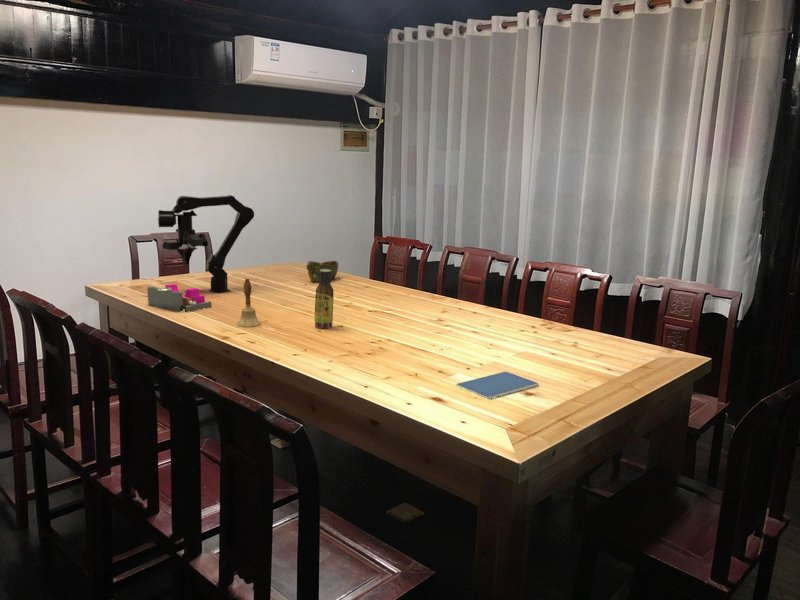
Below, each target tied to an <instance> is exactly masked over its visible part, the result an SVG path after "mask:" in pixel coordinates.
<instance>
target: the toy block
mask: <svg viewBox="0 0 800 600" xmlns="http://www.w3.org/2000/svg"><path fill="white" fill-rule="evenodd" d="M165 287H168V288H172V290H171V291H176V292H180V291H179V288H178V284H177V283H171V284H165ZM182 296H184V297H188V298H191V301H192V298H194V302H196V304H198V303H204V302H206V299H205V297H206V296H205V295H203V294H200V288H196V287H192V288H186V290H185V294H182ZM191 305H192V304H191Z"/></svg>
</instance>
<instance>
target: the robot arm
mask: <svg viewBox="0 0 800 600" xmlns="http://www.w3.org/2000/svg"><path fill="white" fill-rule="evenodd" d="M175 203H176V205H175V206H174V207H173V208H172V209H171V210H162V209H159V210H158V215H157V224H158V228H174V226H175V225H177V228H176V229H175V232H176V233H177V237H178V238H177V239H176V240H174V241H172V240H169V241H167V240H166V241H163V243H162V250H163V249H164V250H171V251H173V250H176V251H177V253H178V255H179V256H180V257H181V259H182V261H183V263H184V264H185V265H186V266H187V265H189V263H190V260H191V257H192V254H193V252H195V250H197V249H198V247H208V246H209V241H208V240H207V238H206V237H207V236H206V234H205V233H199V234H196V230H195V229H193V217H196V216H197V217H198V215H197V213H195V211H194V210H195V209H198V208H199V209H200V208H202V207H216V206H217V207H218V206H230V207H231V208H232V209H233V210H234V211H235V212H237V213H236V215H235V220H234V222H233V225H232V226H231V228H230V230H229V231H228V233H227V235H226V236H225V238H224V239H223V241H222V243H221V245H220V246H219V248H218V250H217V251H216V253H214V254H213V253H212V252H211V253H210V254H209V257H208V258H207V259H206V261H205V262H206V264H205V266H206V270H207V271H208V273H209V274H211V277H210V282H209V283H210V289H208V292H211V293H212V292H213V293H216V292H217V294H220V293H225V292H230V291H231V289H230V288H228V284H229V283H228V273H227V271H226V270H225V269H224V268H223V267H224V266H225V263H226V258H227V256H228V254H229V253H230V251H231V250H232V248H233V246H234V244H235V243H236V241H237V239H238V238H239V236H240V234H241V232H242V231H243V229H244V228H246V227H247V225H249V223H250V222H252V220H253V219H254V217H255V211H254V210H253V209H252V208H251V207H248V206H246V205H244V204H242V203H241V202H240V201H239V200H238V199H237V198H236V197H235V196H233V195H231V194H228V195H220V196H207V197H206V196H204V197H203V196H202V197H197V196H188V195H180V196H179V197H177V199H176V202H175ZM185 265H184V266H185Z"/></svg>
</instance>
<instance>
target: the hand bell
mask: <svg viewBox="0 0 800 600" xmlns="http://www.w3.org/2000/svg"><path fill="white" fill-rule="evenodd" d="M243 294H244V297H245V307H244V308H242V309H241V315H240V319H239V320H238V321H237V323H236V324H237V325H238V326H237V325H236V326H237V327H240V326H241V327H242V328H252V327H253V328H254V326H255V327H259V326H260V324H261V325H262V323H261V321H260V320H259V319H258V317H257V313H256V309H255V308H254V307H252V305H251V304H252V303H251V294H252V283H251V282H250V279H249V278H245V280H244V283H243ZM258 325H259V326H258ZM241 327H240V328H241Z"/></svg>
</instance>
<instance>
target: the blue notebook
mask: <svg viewBox="0 0 800 600" xmlns="http://www.w3.org/2000/svg"><path fill="white" fill-rule="evenodd" d="M455 385H457V386H459V387H461V388H464V389H466V390H468V391H470V392H473V393H475V394H477V395H479V396H481V397H484V398H487V399H490V398H494V397H498V396H501V395H504V396H507V395H506V394H508V395H510V394H509V393H511V394H514V392H515V393H517V391H518V392H522V391H524V390H525V391H526V390H528V388H529V389H533V388H537V387H538V386H539V385H540V384H539V383H538V382H536V381H533V380H531V379H527V378H525V377H523V376H520V375H516V374H514V373H513V372H512V373H511V372H508V371H502V372H498V373H494V374H490V375H486V376H481V377H479V378H478V377H477V378H474V379H471V380H467V381H462V382H459V383H456V384H455ZM521 390H522V391H521ZM470 392H469V393H470ZM477 395H476V396H477ZM479 396H478V397H479ZM481 397H480V398H481ZM501 397H502V396H501ZM484 398H483V399H484ZM498 398H499V397H498ZM494 399H495V398H494Z"/></svg>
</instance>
